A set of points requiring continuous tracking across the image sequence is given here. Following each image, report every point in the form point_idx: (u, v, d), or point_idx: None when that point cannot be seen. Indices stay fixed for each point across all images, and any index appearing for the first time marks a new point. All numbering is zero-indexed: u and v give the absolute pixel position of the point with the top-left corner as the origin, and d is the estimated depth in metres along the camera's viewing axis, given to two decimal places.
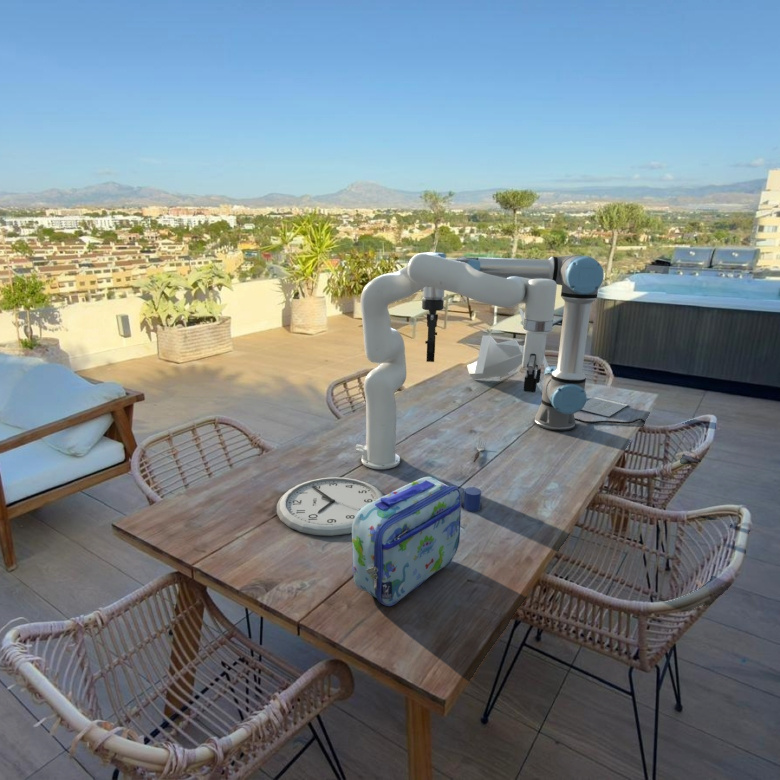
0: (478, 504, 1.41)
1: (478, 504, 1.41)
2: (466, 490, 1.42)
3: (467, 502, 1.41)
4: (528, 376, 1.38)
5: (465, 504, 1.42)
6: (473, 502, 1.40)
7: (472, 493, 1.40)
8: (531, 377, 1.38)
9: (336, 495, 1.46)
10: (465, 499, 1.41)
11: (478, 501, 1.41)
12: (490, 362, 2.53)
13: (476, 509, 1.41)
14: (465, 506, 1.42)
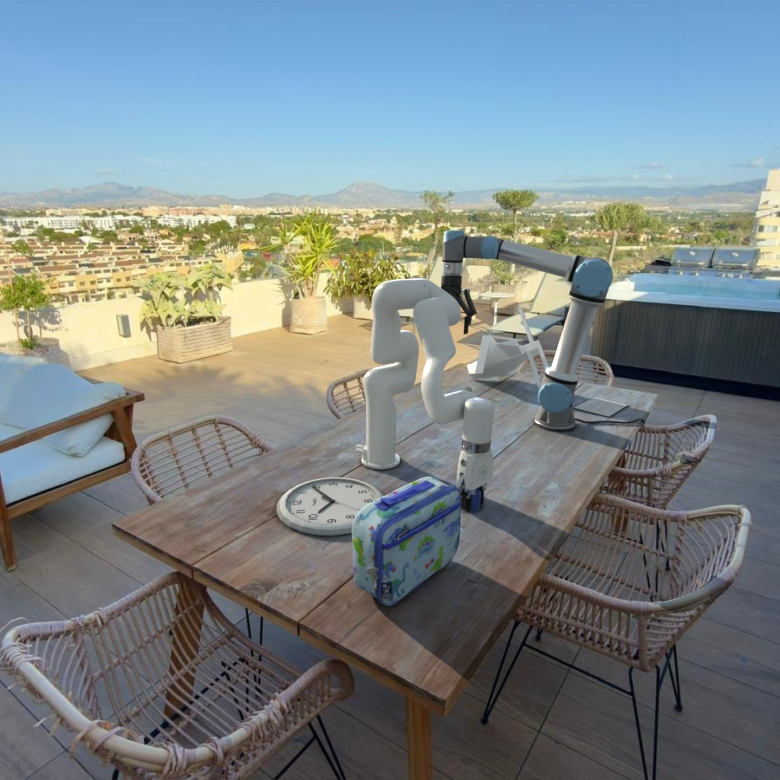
0: (478, 504, 1.41)
1: (478, 504, 1.41)
2: (466, 490, 1.42)
3: None
4: None
5: None
6: (473, 502, 1.40)
7: (472, 493, 1.40)
8: None
9: (336, 495, 1.46)
10: None
11: (478, 501, 1.41)
12: (490, 362, 2.53)
13: (476, 509, 1.41)
14: None
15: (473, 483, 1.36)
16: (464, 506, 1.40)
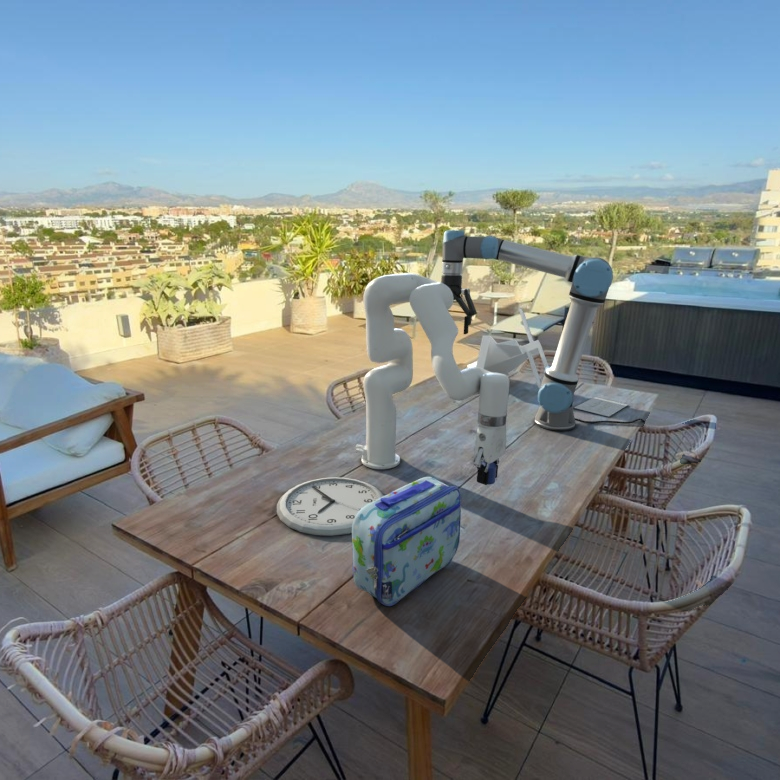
0: (494, 477, 1.44)
1: (494, 477, 1.44)
2: None
3: None
4: None
5: None
6: (490, 475, 1.43)
7: (488, 466, 1.43)
8: None
9: (336, 495, 1.46)
10: None
11: (494, 474, 1.44)
12: (490, 362, 2.53)
13: (492, 482, 1.44)
14: None
15: (492, 456, 1.39)
16: (482, 480, 1.43)
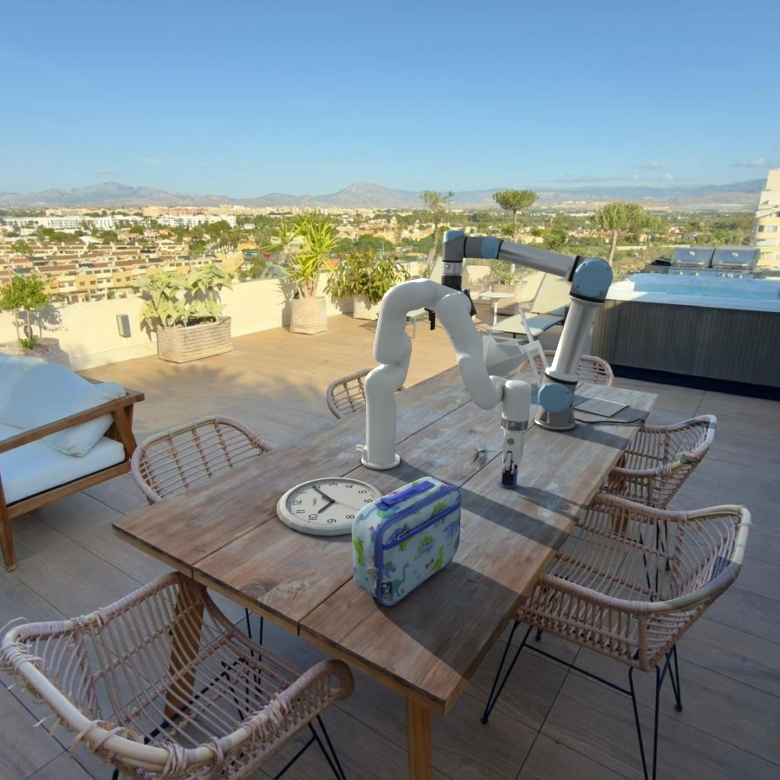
0: (516, 481, 1.55)
1: (516, 481, 1.55)
2: None
3: None
4: None
5: None
6: (514, 479, 1.53)
7: None
8: None
9: (336, 495, 1.46)
10: None
11: (516, 478, 1.54)
12: (490, 362, 2.53)
13: (515, 485, 1.54)
14: (506, 485, 1.54)
15: (519, 458, 1.49)
16: (508, 482, 1.51)
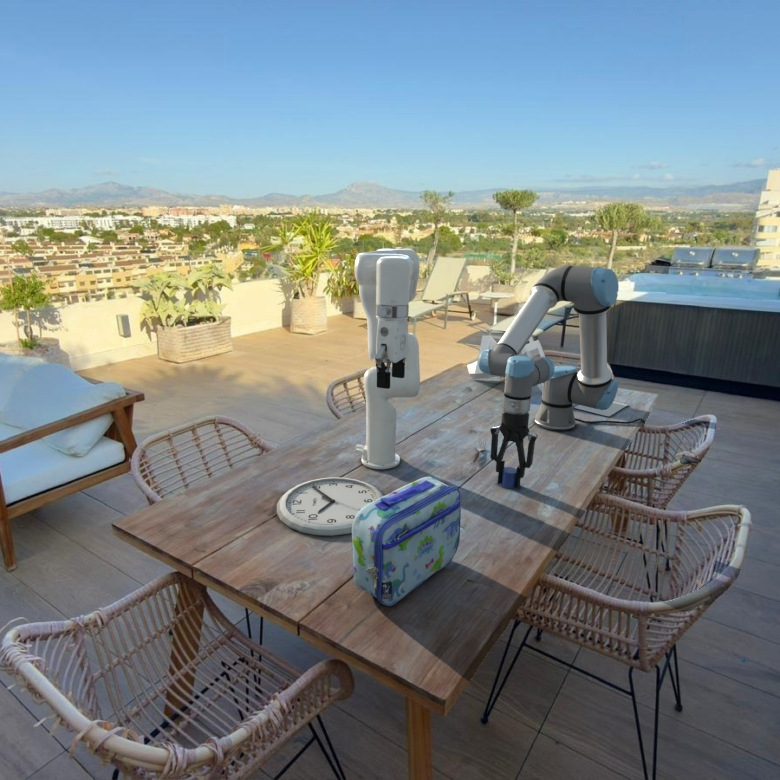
0: None
1: None
2: (505, 470, 1.54)
3: (509, 481, 1.53)
4: None
5: (506, 483, 1.54)
6: (514, 479, 1.53)
7: (512, 472, 1.53)
8: None
9: (336, 495, 1.46)
10: (506, 479, 1.53)
11: None
12: None
13: None
14: (506, 485, 1.54)
15: (397, 354, 1.20)
16: (383, 383, 1.20)
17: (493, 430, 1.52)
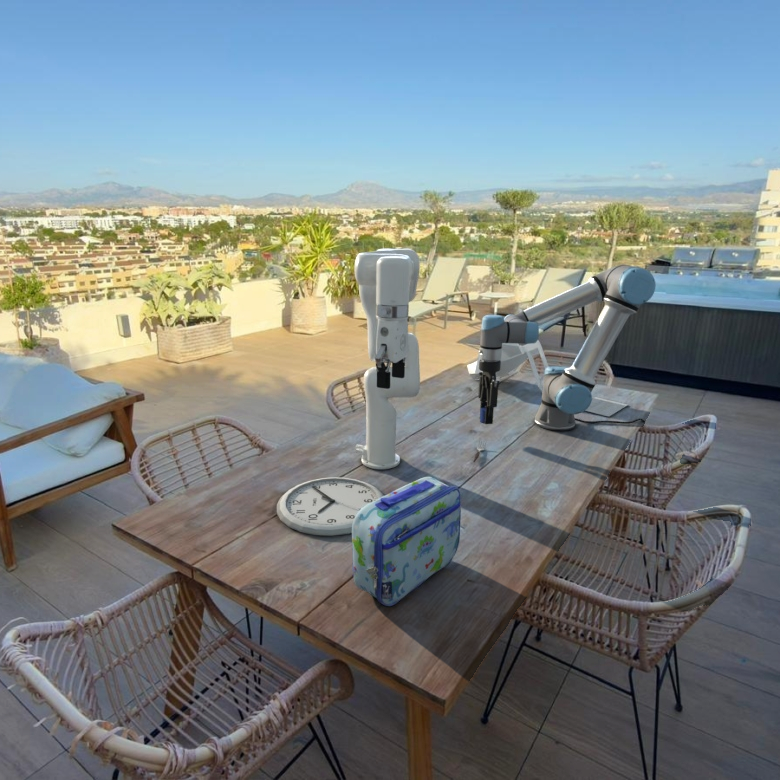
0: None
1: None
2: (482, 408, 1.91)
3: (481, 416, 1.90)
4: None
5: (480, 418, 1.91)
6: None
7: (485, 410, 1.89)
8: None
9: (336, 495, 1.46)
10: (480, 414, 1.91)
11: None
12: None
13: None
14: (480, 419, 1.91)
15: (397, 354, 1.20)
16: (383, 383, 1.20)
17: (480, 373, 1.92)
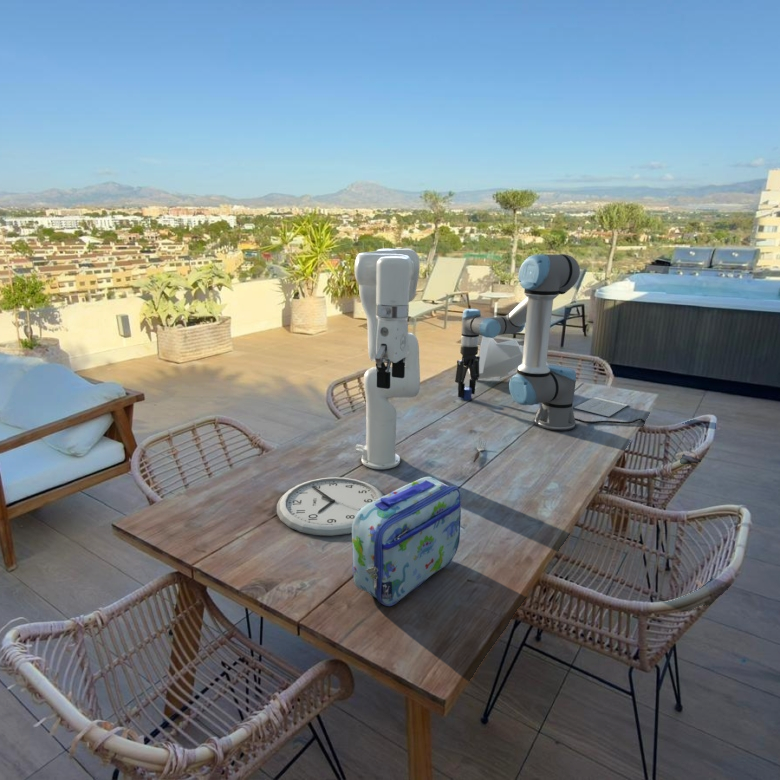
0: None
1: (464, 396, 2.31)
2: (466, 387, 2.34)
3: None
4: None
5: None
6: None
7: None
8: None
9: (336, 495, 1.46)
10: None
11: None
12: (490, 362, 2.53)
13: (462, 399, 2.32)
14: None
15: (397, 354, 1.20)
16: (383, 383, 1.20)
17: None
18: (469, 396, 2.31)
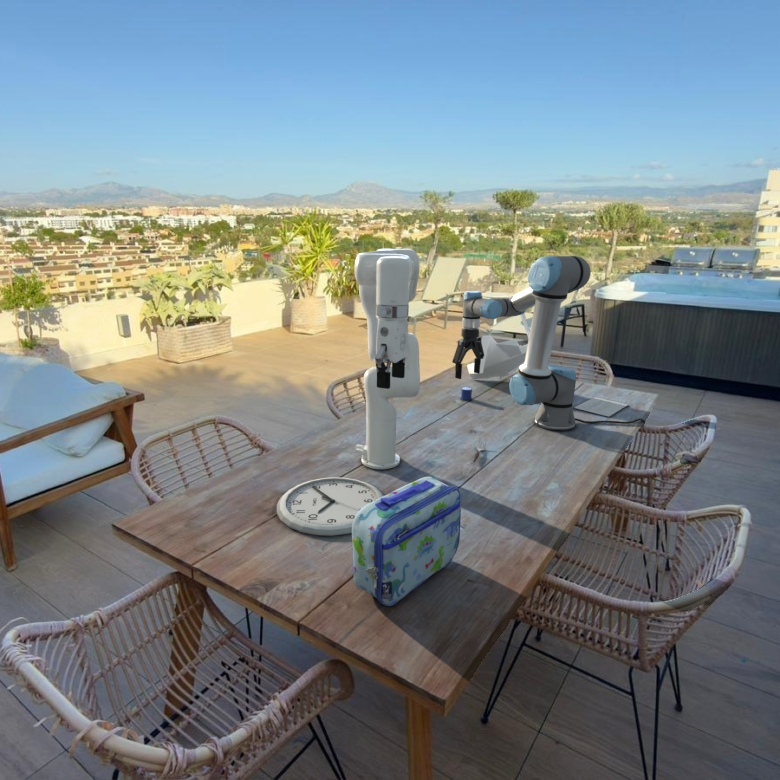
0: (463, 396, 2.31)
1: (464, 396, 2.31)
2: (466, 387, 2.34)
3: None
4: None
5: None
6: (461, 393, 2.32)
7: (463, 388, 2.32)
8: None
9: (336, 495, 1.46)
10: None
11: (463, 394, 2.31)
12: (490, 362, 2.53)
13: (462, 399, 2.32)
14: None
15: (397, 354, 1.20)
16: (383, 383, 1.20)
17: None
18: (469, 396, 2.31)
